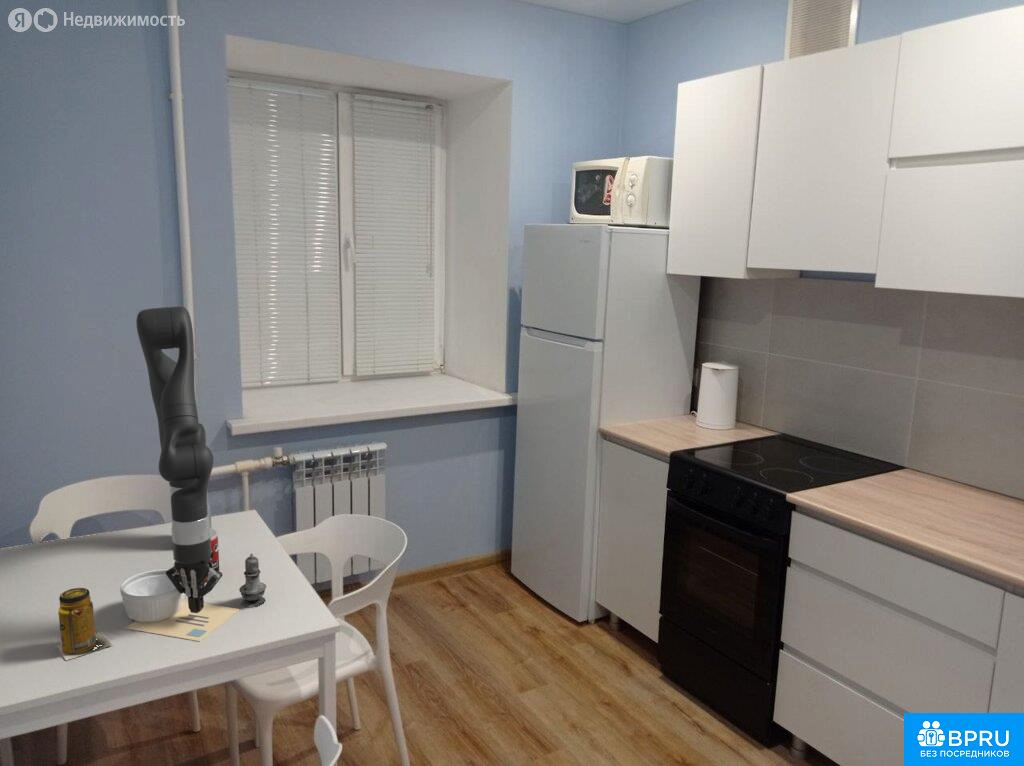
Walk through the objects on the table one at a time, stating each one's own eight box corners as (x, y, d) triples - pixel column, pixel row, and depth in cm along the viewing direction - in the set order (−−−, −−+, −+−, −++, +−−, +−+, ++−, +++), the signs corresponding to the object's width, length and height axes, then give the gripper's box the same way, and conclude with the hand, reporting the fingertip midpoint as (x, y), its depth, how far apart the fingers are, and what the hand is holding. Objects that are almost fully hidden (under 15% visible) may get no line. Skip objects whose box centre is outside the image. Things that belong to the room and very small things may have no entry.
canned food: (192, 586, 179) (190, 543, 177) (181, 574, 185) (178, 532, 183) (224, 577, 184) (222, 535, 182) (212, 566, 190) (210, 525, 188)
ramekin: (194, 615, 165) (192, 586, 164) (128, 632, 158) (125, 602, 157) (181, 591, 176) (179, 564, 175) (118, 606, 169) (115, 577, 167)
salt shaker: (258, 609, 169) (256, 560, 167) (234, 606, 170) (232, 557, 168) (271, 597, 175) (269, 549, 172) (248, 594, 176) (246, 546, 174)
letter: (170, 598, 173) (170, 597, 173) (239, 609, 169) (239, 608, 169) (125, 628, 160) (125, 627, 160) (199, 641, 156) (199, 640, 156)
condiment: (56, 646, 153) (50, 591, 150) (102, 632, 158) (97, 579, 156) (65, 661, 147) (60, 605, 145) (112, 646, 153) (108, 591, 151)
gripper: (229, 533, 163) (233, 607, 167) (176, 527, 166) (181, 599, 170) (207, 546, 156) (212, 623, 159) (152, 540, 159) (158, 615, 162)
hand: (196, 611), depth 165 cm, fingers closed
